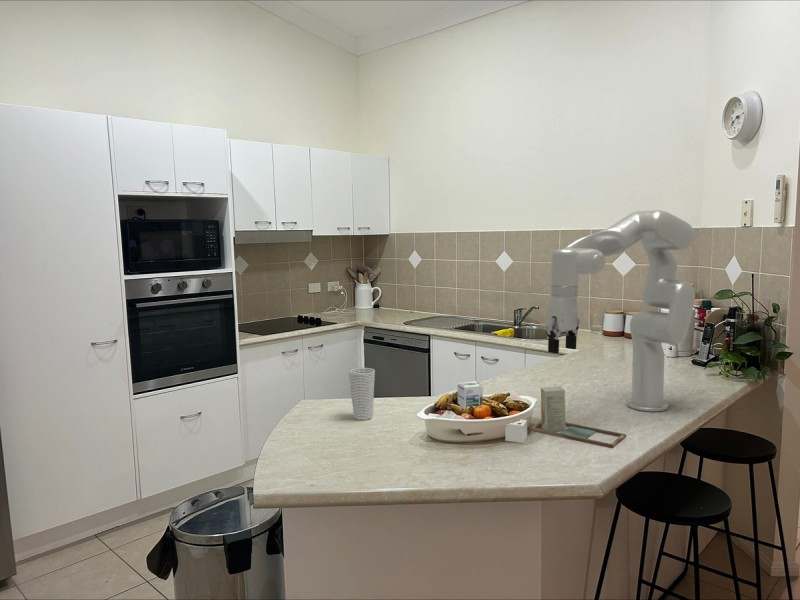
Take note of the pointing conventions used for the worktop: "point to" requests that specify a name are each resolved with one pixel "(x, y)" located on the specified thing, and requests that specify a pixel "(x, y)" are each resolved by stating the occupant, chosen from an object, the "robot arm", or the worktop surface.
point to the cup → (362, 392)
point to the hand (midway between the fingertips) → (562, 350)
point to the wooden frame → (581, 434)
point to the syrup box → (470, 394)
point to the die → (516, 431)
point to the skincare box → (553, 408)
